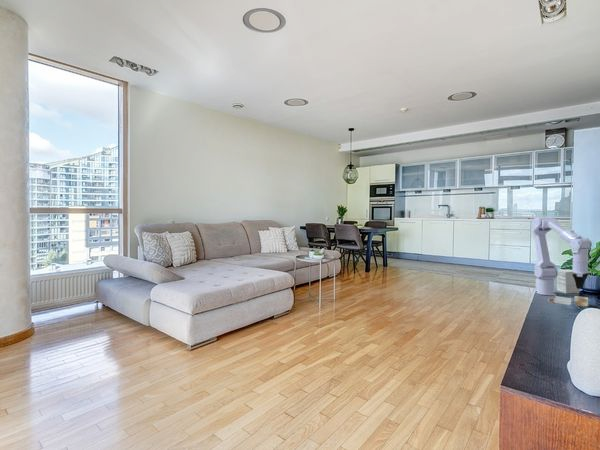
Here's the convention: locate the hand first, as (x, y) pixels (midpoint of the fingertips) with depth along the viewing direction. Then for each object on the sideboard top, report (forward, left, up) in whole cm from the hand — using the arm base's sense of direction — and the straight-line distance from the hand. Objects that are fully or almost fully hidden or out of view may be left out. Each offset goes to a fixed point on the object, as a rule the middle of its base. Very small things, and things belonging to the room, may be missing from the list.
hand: (579, 288), depth 156 cm
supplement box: (-28, +7, -9) cm, 30 cm away
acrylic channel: (-3, -6, -8) cm, 10 cm away
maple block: (0, +1, -9) cm, 9 cm away
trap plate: (-5, -10, -8) cm, 14 cm away
